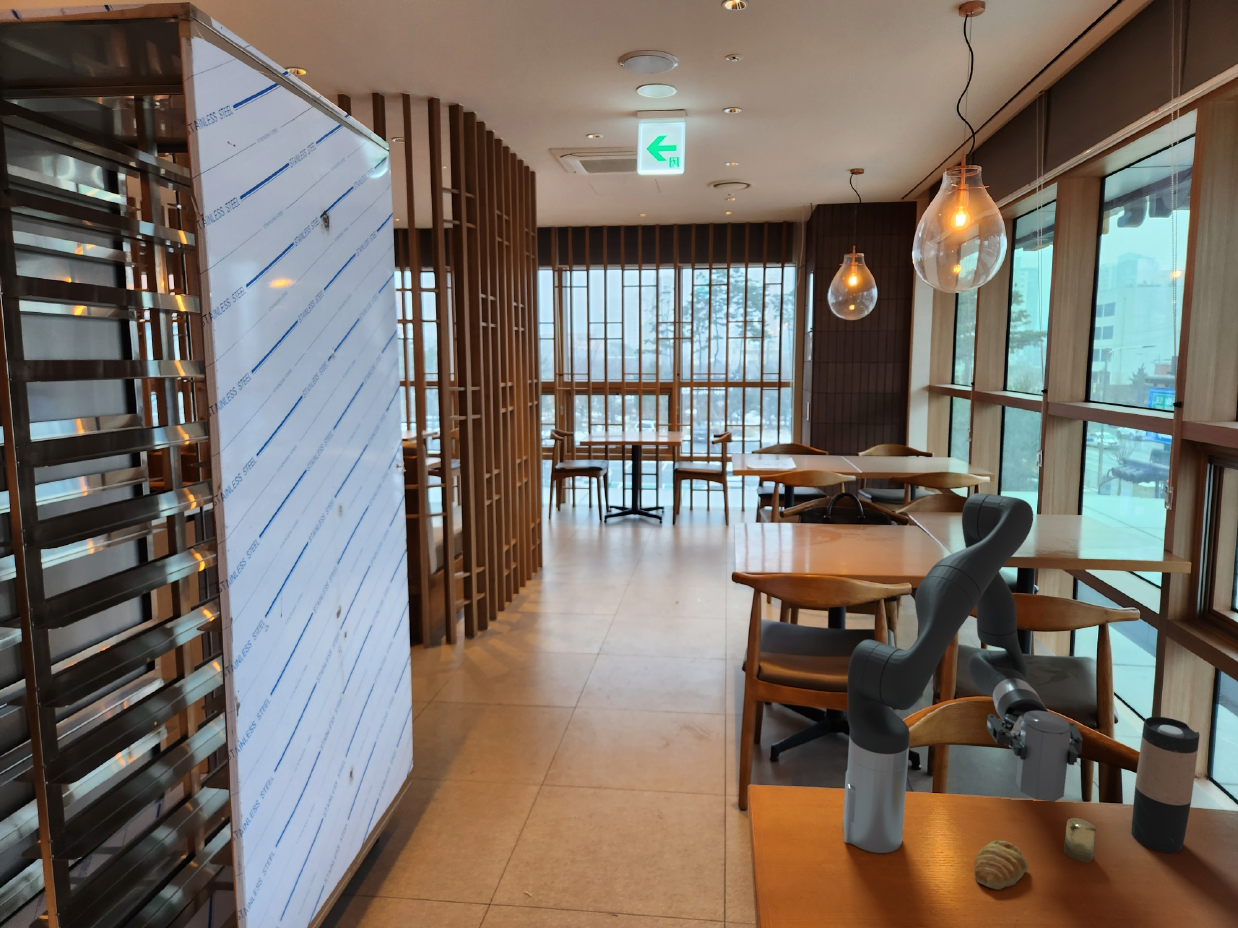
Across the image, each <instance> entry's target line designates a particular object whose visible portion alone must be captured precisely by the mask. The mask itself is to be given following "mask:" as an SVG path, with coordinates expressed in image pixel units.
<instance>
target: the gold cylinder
mask: <svg viewBox="0 0 1238 928" xmlns="http://www.w3.org/2000/svg"><path fill="white" fill-rule="evenodd" d="M1065 829H1066V830H1065V835H1064V836H1065V838H1064V843H1063V844H1064V845H1063V852H1064V854H1065V855H1066V856H1068V857H1069V858H1070V859H1072V860H1075V861H1078V862H1081V863H1089V862H1091V861H1092V860H1093V857H1094V848H1095V838H1096V831H1097V829H1096V826H1094V824H1093V823H1091V822H1090V821H1088V820H1085V819H1082V818H1078V817H1071V818H1068V819H1067V821H1066V828H1065Z"/></svg>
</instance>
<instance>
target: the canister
mask: <svg viewBox="0 0 1238 928" xmlns="http://www.w3.org/2000/svg"><path fill="white" fill-rule="evenodd" d="M1069 723H1070V722H1069V721H1068V720H1067V719H1065V717H1062V716H1060V715H1059V714H1056V713H1053V712H1050V711H1048V712H1045V711H1029V712H1026V713H1025V714H1024V717H1022V724H1021V735H1020V737H1021V739H1022V741H1023V743H1024V745H1025V746H1026V749H1027V751H1026V759H1025V760H1022V759H1020V758H1019V756H1017V767H1016V768H1017V769H1016V778H1015V783H1016V785H1017V787H1018V790H1019V791H1020V792H1021V793H1023V794H1024V795H1027V797H1028V796H1029V797H1031V798H1032V799H1034V800H1037V801H1046V802H1056V801H1059V800H1060V799H1062V798H1064V796H1065V788H1066V787H1065V786H1066V780H1067V779H1066V777H1067V768H1068V763H1067V760H1068V750H1069V743H1070V733H1071V730H1070V728H1069Z"/></svg>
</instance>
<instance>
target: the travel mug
mask: <svg viewBox="0 0 1238 928" xmlns="http://www.w3.org/2000/svg"><path fill="white" fill-rule="evenodd" d="M1142 725H1143V726H1142V735H1141V741H1140V748H1139V757H1138V761H1137V762H1138V763H1137V769H1136V777H1135V785H1134V795H1133V796H1134V797H1133V807H1132V818H1131V819H1132V820H1131V835H1132V837H1133V838H1134V839H1135V840H1136V841H1137V842H1138V843H1140V844H1141V845H1143V846H1144V847H1147V848H1148V849H1151V850H1154V851H1156V852H1160V853H1165V854H1177V853H1180V852H1181V851H1182V850H1183V848H1184V842H1185V838H1186V832H1187V827H1188V820H1189V817H1190V809H1191V805H1192V798H1193V793H1194V792H1193V790H1194V783H1195V775H1196V774H1195V773H1196V767H1197V759H1198V750H1199V743H1200V732H1199V731H1194V730H1193V729H1192V728H1190V727H1189V724H1187V723H1185V722H1184V721H1182V720H1181V721H1180V720H1178V719H1174V718H1172V717H1171V718H1169V717H1165V716H1150V717H1147V718H1145V720H1144V721H1143V724H1142Z"/></svg>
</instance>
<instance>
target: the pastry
mask: <svg viewBox="0 0 1238 928" xmlns="http://www.w3.org/2000/svg"><path fill="white" fill-rule="evenodd" d="M974 861H975V862H974V864H975V865H974V876H975V880H976V882H977V883H979V884H981V885H982V886H985V887H987V888H990V889H994V890H998V891H1000V890H1002V889H1003V888H1007V887H1012V886H1015V885H1016V883H1017V882H1018V881H1020V879H1022V877H1023V876H1024V874H1025V873H1026V872H1027V871H1028V869H1029V865H1028V863H1027V861H1026V858H1025V856H1024V855H1023V853H1022V851H1021V849H1020V848H1019V847H1018V846H1016V845H1015V844H1013V843H1011V842H1009V841H1007V840H998V839H995V840H993V841H989V843H988V844H987V845H986V844H985V846H983V847H982V848H981V849H980V850H979V851H978V853H977V855H976V856H975V860H974Z"/></svg>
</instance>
